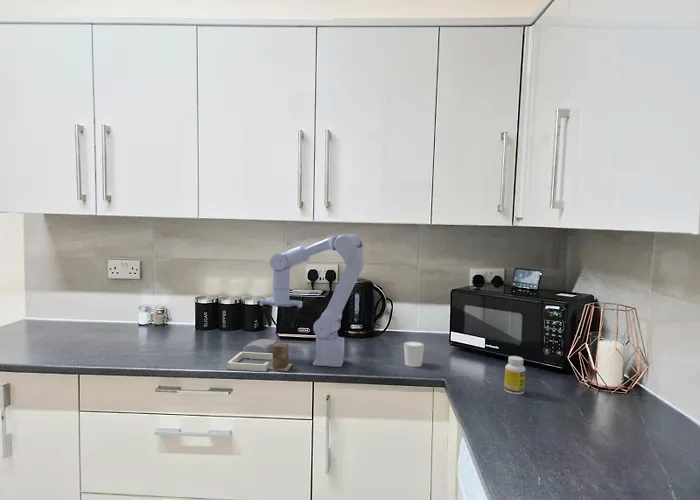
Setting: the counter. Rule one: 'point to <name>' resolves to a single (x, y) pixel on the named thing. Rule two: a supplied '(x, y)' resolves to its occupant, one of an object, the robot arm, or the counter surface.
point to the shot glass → (413, 353)
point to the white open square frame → (247, 366)
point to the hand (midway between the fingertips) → (280, 326)
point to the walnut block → (280, 355)
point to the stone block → (260, 346)
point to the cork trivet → (282, 368)
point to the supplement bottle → (514, 376)
